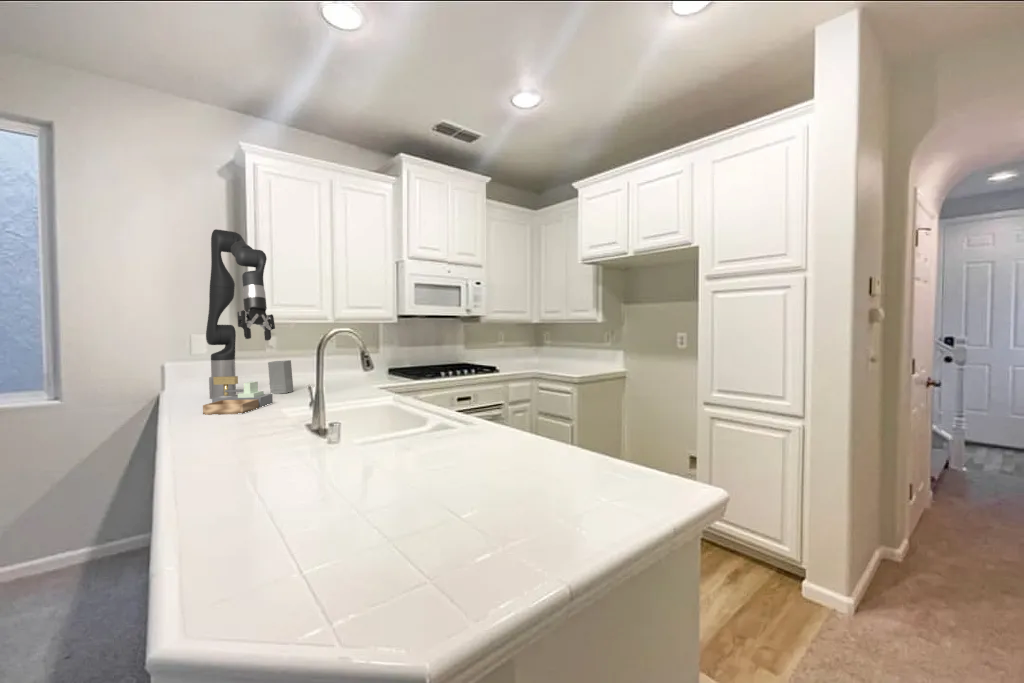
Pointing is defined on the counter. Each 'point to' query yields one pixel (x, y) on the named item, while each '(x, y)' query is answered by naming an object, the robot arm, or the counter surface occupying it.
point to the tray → (230, 406)
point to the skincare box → (280, 376)
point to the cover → (250, 390)
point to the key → (227, 380)
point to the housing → (262, 399)
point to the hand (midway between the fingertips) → (258, 339)
